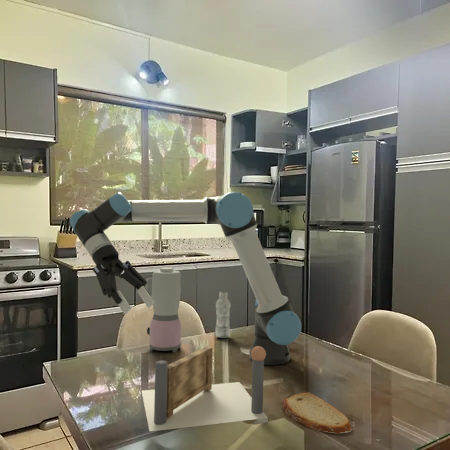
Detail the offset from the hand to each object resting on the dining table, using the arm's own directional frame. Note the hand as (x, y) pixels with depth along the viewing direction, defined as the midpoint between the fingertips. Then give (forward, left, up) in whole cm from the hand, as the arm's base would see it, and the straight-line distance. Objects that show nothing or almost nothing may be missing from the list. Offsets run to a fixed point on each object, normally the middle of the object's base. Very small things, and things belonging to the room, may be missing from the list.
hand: (140, 308), depth 123 cm
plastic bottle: (-40, -50, -25) cm, 69 cm away
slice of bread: (-45, +25, -26) cm, 57 cm away
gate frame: (-16, +14, -25) cm, 33 cm away
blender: (-12, -40, -25) cm, 49 cm away
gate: (-13, +13, -23) cm, 30 cm away
